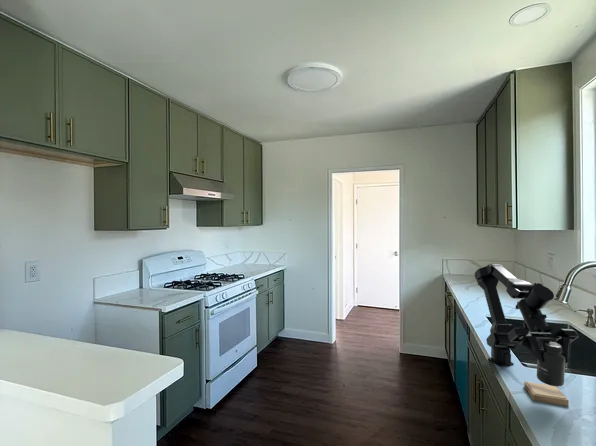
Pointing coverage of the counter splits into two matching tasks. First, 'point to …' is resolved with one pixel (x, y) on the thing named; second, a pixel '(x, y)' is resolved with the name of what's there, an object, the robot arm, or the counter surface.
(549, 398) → the square wooden coaster
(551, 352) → the supplement bottle
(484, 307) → the counter surface
